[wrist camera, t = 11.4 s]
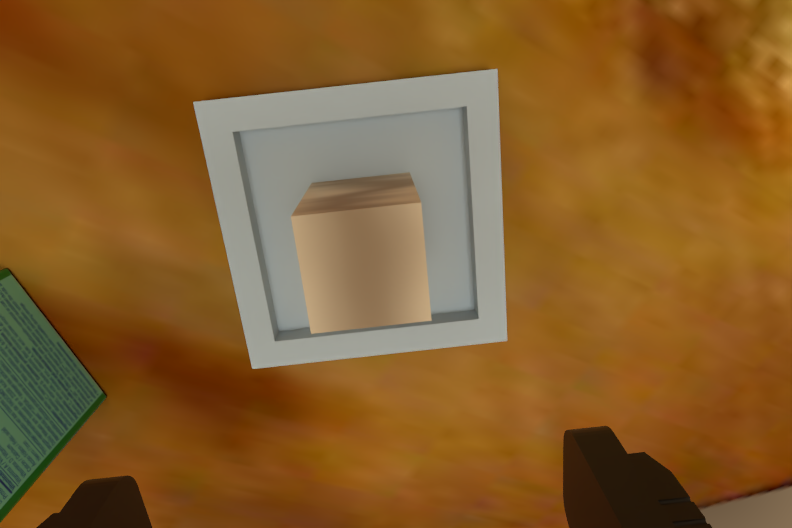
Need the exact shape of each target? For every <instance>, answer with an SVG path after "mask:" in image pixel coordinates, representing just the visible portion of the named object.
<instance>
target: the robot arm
mask: <svg viewBox="0 0 792 528" xmlns="http://www.w3.org/2000/svg"><path fill="white" fill-rule="evenodd" d="M563 498H564V507H565V512H566V517H567V521H568V524H569V527H570V528H712V527H711V525H710V524H707V523H706V521H705V517H704V516H703V514H702V513H701V512H700V510H699V509H698V508H697V506H696V505H695V503H694V502H691V501H690V497H689V495H688V494H687V493H686V491H685V490H684V488H683V487H682V486H681V484H680V483H679V482H678V480H677V479H676V478H675V476H674V475H673V474H672V472H671V471H669V470H668V469H667V468H665V467H664V466H662V465H661V464H660V463H658V462H657V461H656V460H654V459H653V458H651V457H650V456H649V455H647V454H646V453H645V452H641V453H632V454H627V452H626V451H625V449H624V448H623V446H622V445H621V443H620V442H619V440H618V439H617V437H616V436H615V434H614V432H613V431H612V430H611V429H610V428H609V427H608V426H601V427H591V428H582V429H573V430H566V431H565V433H564V447H563ZM37 528H152V526H151V523H150V520H149V517H148V514H147V511H146V508H145V506H144V503H143V500H142V497H141V494H140V491H139V488H138V485H137V483H136V481H135V480H134V478H133V477H131V476H120V477H111V478H101V479H92V480H86V481H85V482H83V483H82V484H81V485H80V486H79V487H78V488H77V490H76V491H75V492H74V494H73V495H72V496H71V498H70V499H69V501H68V502H67V503H66V505H65V506H64V507H63V509H62V510H61V512H60V513H54V514H52V515H51V516H50V517H49V518H47V519H46V520H45V521H44V522H43V523H41V524H40V525H39V526H38V527H37Z"/></svg>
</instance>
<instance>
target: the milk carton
mask: <svg viewBox="0 0 792 528" xmlns="http://www.w3.org/2000/svg"><path fill="white" fill-rule="evenodd" d="M105 399H106V395H105V394H104V393H103V391H102V390H101V389H100V388H99V386H98V385H97V384H96V382H95V381H94V380H93V379H92V377H91V376H90V375H89V373H88V372H87V371H86V370H85V368H84V367H83V366H82V364H81V363H80V362H79V361H78V359H77V358H76V357H75V355H74V354H73V353H72V351H71V350H70V349H69V348H68V346H67V345H66V344H65V342H64V341H63V340H62V339H61V337H60V336H59V335H58V333H57V332H56V331H55V330H54V328H53V327H52V326H51V324H50V323H49V322H48V321H47V319H46V318H45V317H44V315H43V314H42V313H41V311H40V310H39V309H38V308H37V306H36V305H35V304H34V302H33V301H32V300H31V299H30V297H29V296H28V295H27V293H26V292H25V291H24V290H23V288H22V287H21V286H20V284H19V283H18V282H17V280H16V279H15V278H14V277H13V275H12V274H11V273H10V271H9V270H8V269H3V270H0V522H1V521H2V520H3V519H4V518H5V517H6V515H7V514H8V513H9V512H10V511H11V509H12V508H13V507H14V506H15V505H16V504H17V502H18V501H19V500H20V499H21V498H22V496H23V495H24V494H25V493H26V492H27V491H28V489H29V488H30V487H31V486H32V485H33V484H34V482H35V481H36V480H37V479H38V478H39V476H40V475H41V474H42V473H43V472H44V471H45V469H46V468H47V467H48V466H49V465H50V463H51V462H52V461H53V460H54V459H55V458H56V456H57V455H58V454H59V453H60V452H61V451H62V449H63V448H64V447H65V446H66V445H67V443H68V442H69V441H70V440H71V439H72V438H73V436H74V435H75V434H76V433H77V432H78V430H79V429H80V428H81V427H82V426H83V425H84V423H85V422H86V421H87V420H88V419H89V418H90V416H91V415H92V414H93V413H94V412H95V410H96V409H97V408H98V407H99V406H100V405H101V403H102V402H103V401H104V400H105Z"/></svg>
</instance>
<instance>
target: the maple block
mask: <svg viewBox="0 0 792 528" xmlns="http://www.w3.org/2000/svg"><path fill="white" fill-rule="evenodd" d="M291 221H292V227H293V233H294V238H295V244H296V250H297V256H298V261H299V267H300V273H301V279H302V284H303V290H304V296H305V302H306V307H307V313H308V319H309V325H310V330H311V334H315V333H324V332H333V331H342V330H351V329H360V328H369V327H379V326H388V325H397V324H406V323H415V322H424V321H432V319H431V308H430V297H429V285H428V274H427V262H426V251H425V239H424V228H423V217H422V205H421V200H420V198H419V195H418V193H417V190H416V187H415V185H414V182H413V180H412V177H411V174H410V172H407V173H398V174H389V175H380V176H371V177H361V178H352V179H343V180H334V181H325V182H315V183H311V185H310V186H309V188H308V190H307V191H306V193H305V194H304V196H303V198H302V199H301V201H300V202H299V204H298V206H297V207H296V209H295V210H294V212H293V214H292V215H291Z"/></svg>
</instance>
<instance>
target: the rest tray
mask: <svg viewBox="0 0 792 528" xmlns="http://www.w3.org/2000/svg"><path fill="white" fill-rule="evenodd" d="M193 104H194V109H195V113H196V118H197V122H198V127H199V131H200V136H201V140H202V145H203V149H204V154H205V158H206V163H207V167H208V172H209V176H210V181H211V185H212V190H213V194H214V199H215V203H216V208H217V212H218V217H219V221H220V226H221V230H222V235H223V239H224V244H225V248H226V253H227V257H228V262H229V266H230V271H231V275H232V280H233V284H234V289H235V293H236V298H237V302H238V307H239V311H240V316H241V320H242V325H243V329H244V334H245V338H246V343H247V347H248V352H249V356H250V361H251V365H252V369H257V368H266V367H275V366H284V365H293V364H303V363H312V362H321V361H330V360H339V359H348V358H357V357H366V356H375V355H384V354H393V353H402V352H411V351H420V350H429V349H438V348H447V347H456V346H465V345H474V344H483V343H492V342H502V341H507V318H506V291H505V263H504V235H503V207H502V180H501V152H500V124H499V97H498V69H490V70H481V71H472V72H462V73H453V74H444V75H435V76H426V77H417V78H408V79H398V80H389V81H380V82H371V83H362V84H353V85H344V86H334V87H325V88H316V89H307V90H298V91H289V92H280V93H270V94H261V95H252V96H243V97H234V98H225V99H216V100H206V101H198V102H193ZM407 172H410V174H411V177H412V180H413V182H414V185H415V187H416V190H417V193H418V195H419V198H420V200H421V205H422V217H423V228H424V239H425V251H426V262H427V274H428V285H429V297H430V308H431V319H432V321H424V322H415V323H406V324H397V325H388V326H379V327H369V328H360V329H351V330H342V331H333V332H324V333H315V334H311V330H310V325H309V319H308V313H307V307H306V302H305V296H304V290H303V284H302V279H301V273H300V267H299V261H298V256H297V250H296V244H295V238H294V233H293V227H292V221H291V215H292V214H293V212H294V210H295V209H296V207H297V206H298V204H299V202H300V201H301V199H302V198H303V196H304V194H305V193H306V191H307V190H308V188H309V186H310V185H311V183H315V182H325V181H334V180H343V179H352V178H361V177H371V176H380V175H389V174H398V173H407Z"/></svg>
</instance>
